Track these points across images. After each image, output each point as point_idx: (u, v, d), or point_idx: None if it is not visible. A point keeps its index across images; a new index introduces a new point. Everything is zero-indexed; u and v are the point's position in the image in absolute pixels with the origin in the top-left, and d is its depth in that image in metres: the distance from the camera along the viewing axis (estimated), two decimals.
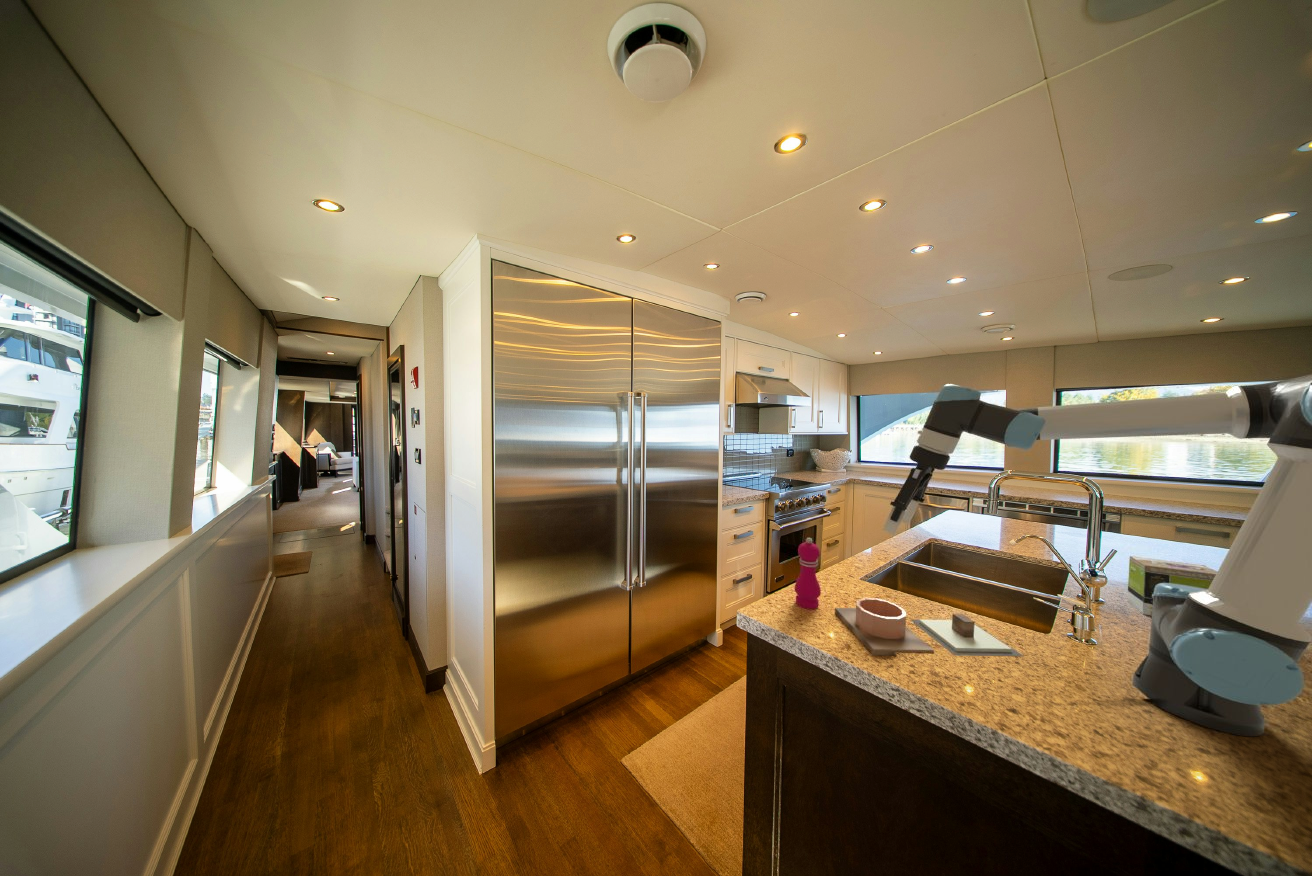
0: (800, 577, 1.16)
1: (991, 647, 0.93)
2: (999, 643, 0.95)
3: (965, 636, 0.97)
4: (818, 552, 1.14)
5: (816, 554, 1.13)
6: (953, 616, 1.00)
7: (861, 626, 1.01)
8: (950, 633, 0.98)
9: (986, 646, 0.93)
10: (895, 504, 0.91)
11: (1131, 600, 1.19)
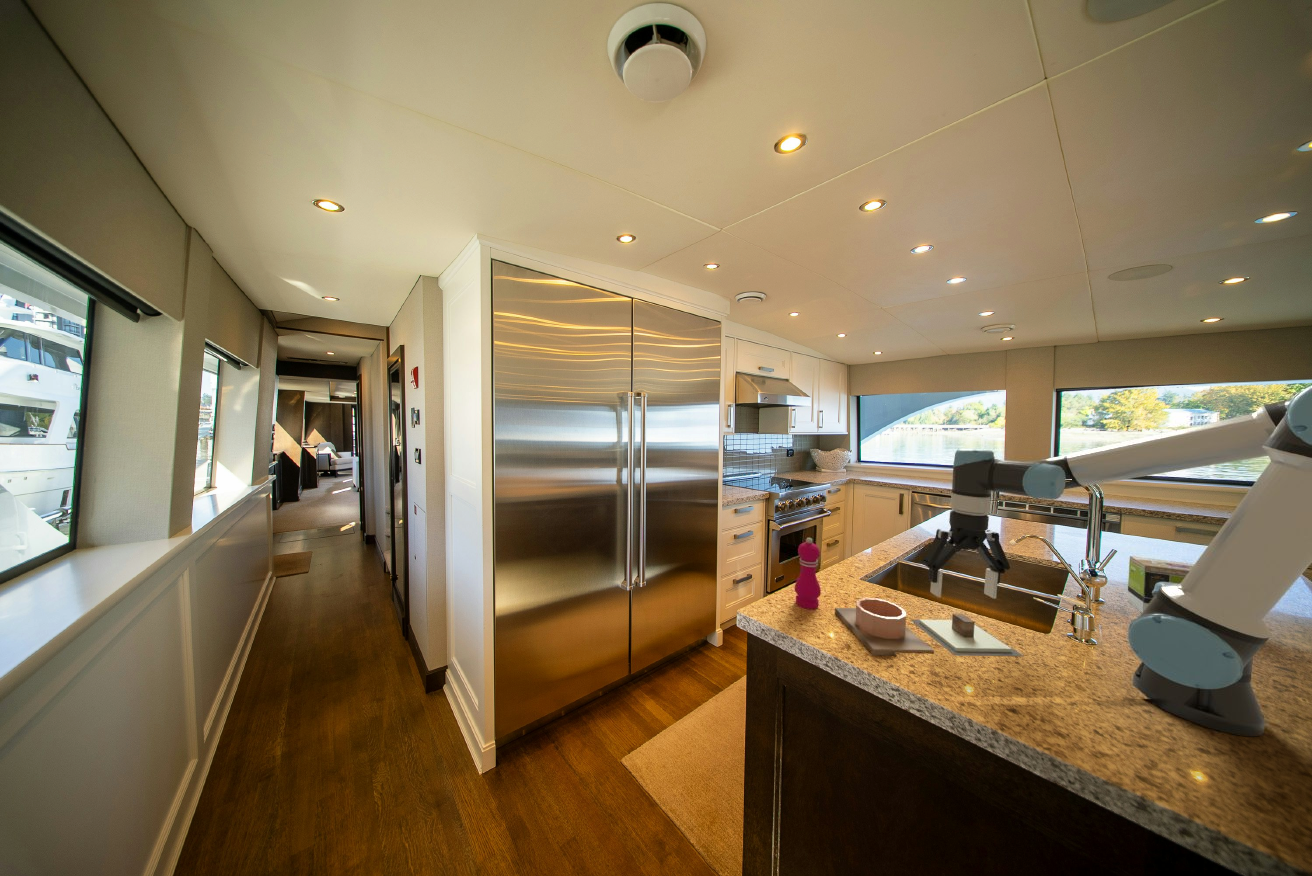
0: (800, 577, 1.16)
1: (991, 647, 0.93)
2: (999, 643, 0.95)
3: (965, 636, 0.97)
4: (818, 552, 1.14)
5: (816, 554, 1.13)
6: (953, 616, 1.00)
7: (861, 626, 1.01)
8: (950, 633, 0.98)
9: (986, 646, 0.93)
10: (923, 563, 0.99)
11: (1131, 600, 1.19)
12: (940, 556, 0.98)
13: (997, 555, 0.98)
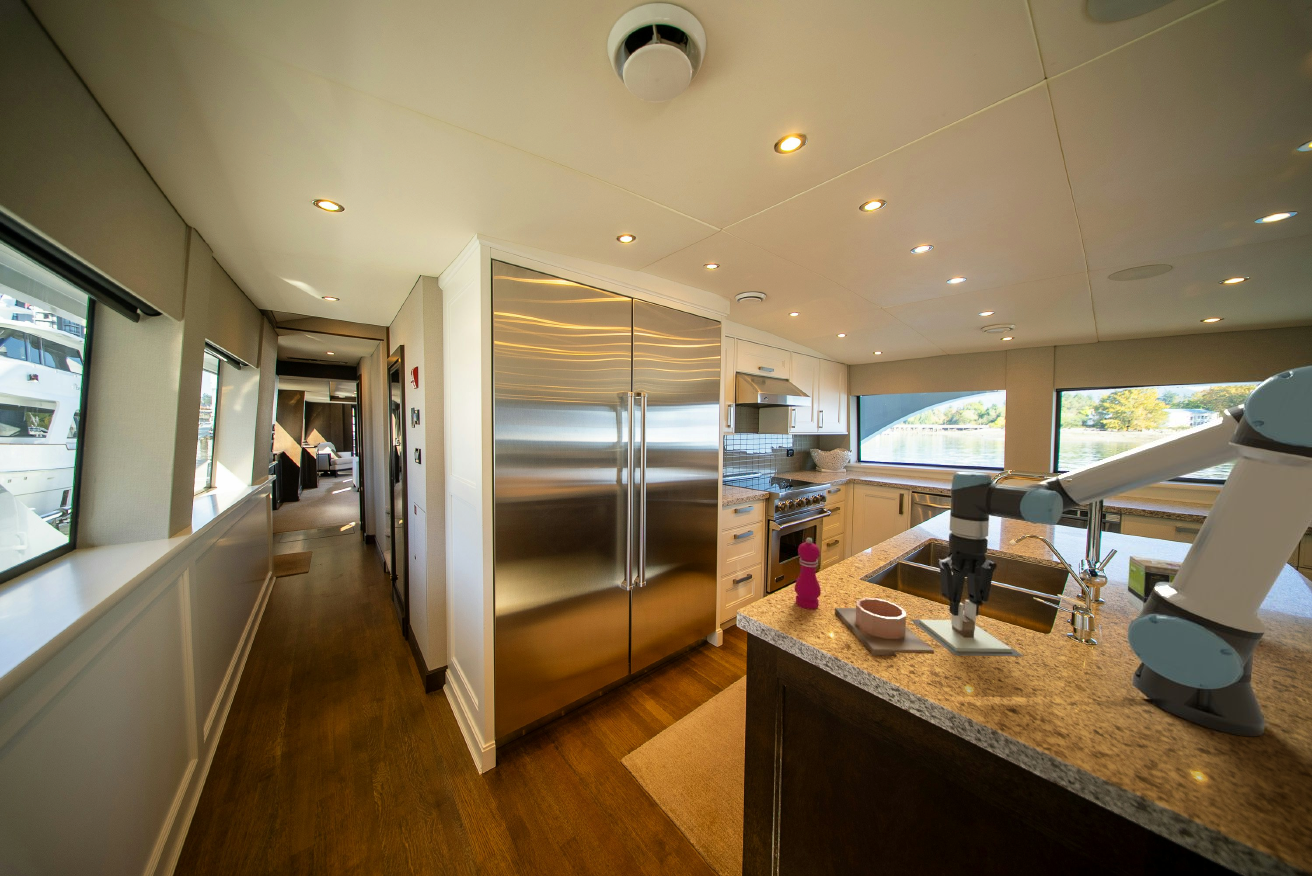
0: (800, 577, 1.16)
1: (991, 647, 0.93)
2: (999, 643, 0.94)
3: (965, 636, 0.97)
4: (818, 552, 1.14)
5: (816, 554, 1.13)
6: None
7: (861, 626, 1.01)
8: (950, 633, 0.98)
9: (986, 646, 0.93)
10: (944, 596, 0.99)
11: (1131, 600, 1.19)
12: (954, 587, 0.98)
13: (982, 585, 0.98)
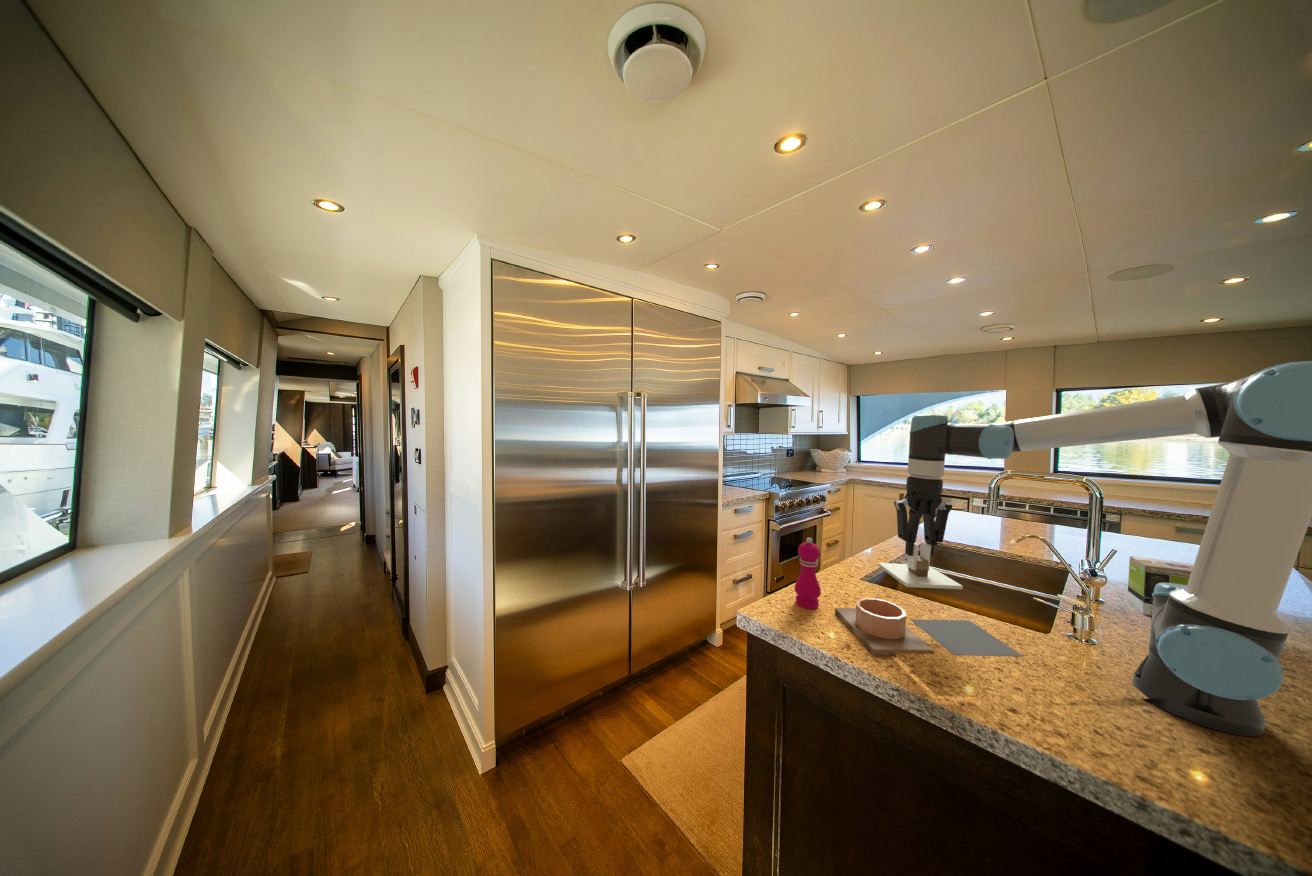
0: (800, 577, 1.16)
1: (942, 584, 0.94)
2: (951, 581, 0.96)
3: (919, 575, 0.99)
4: (818, 552, 1.14)
5: (816, 554, 1.13)
6: None
7: (861, 626, 1.01)
8: (905, 573, 1.00)
9: (937, 583, 0.95)
10: (900, 537, 1.01)
11: (1131, 600, 1.19)
12: (910, 528, 1.00)
13: (938, 526, 0.99)
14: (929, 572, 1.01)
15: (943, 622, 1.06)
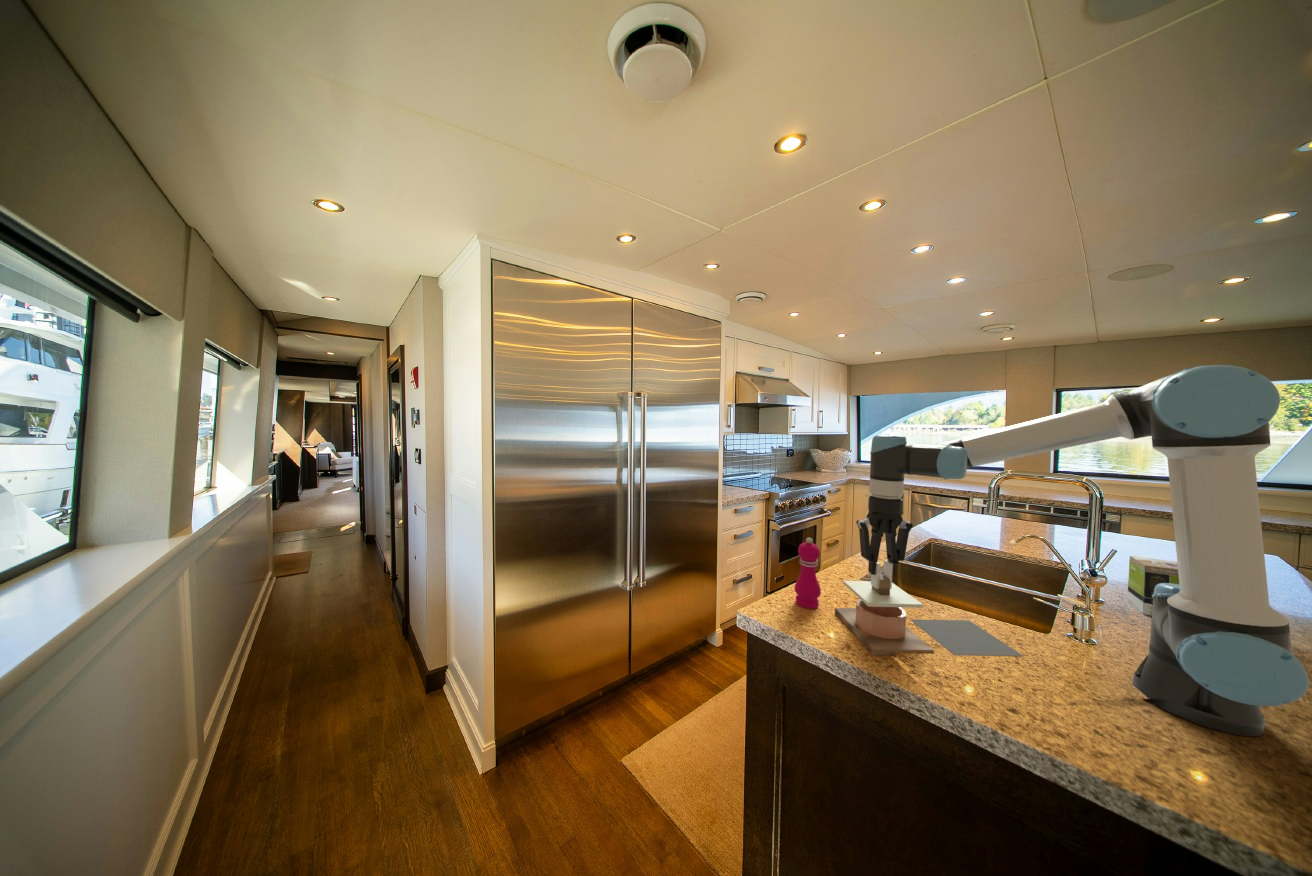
0: (800, 577, 1.16)
1: (902, 603, 0.95)
2: (912, 600, 0.97)
3: (881, 594, 1.00)
4: (818, 552, 1.14)
5: (816, 554, 1.13)
6: None
7: (861, 626, 1.01)
8: (868, 592, 1.01)
9: (898, 602, 0.96)
10: (863, 556, 1.02)
11: (1131, 600, 1.19)
12: (872, 547, 1.01)
13: (899, 545, 1.00)
14: (892, 590, 1.03)
15: (943, 622, 1.06)
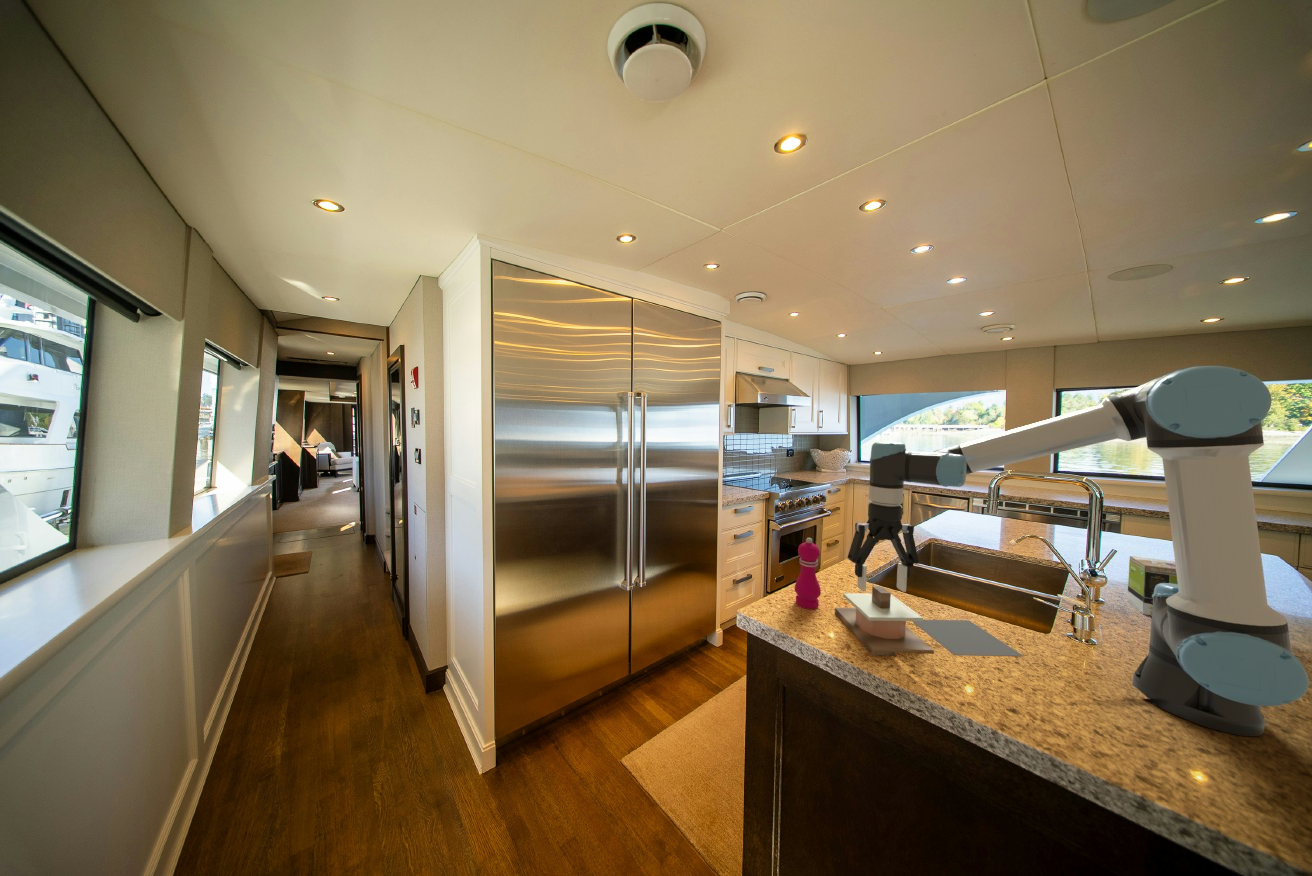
0: (800, 577, 1.16)
1: (903, 617, 0.95)
2: (913, 613, 0.97)
3: (882, 607, 1.00)
4: (818, 552, 1.14)
5: (816, 554, 1.13)
6: (873, 589, 1.03)
7: (861, 626, 1.01)
8: (868, 605, 1.01)
9: (899, 616, 0.96)
10: (849, 558, 1.02)
11: (1131, 600, 1.19)
12: (863, 550, 1.01)
13: (909, 549, 1.00)
14: (892, 602, 1.03)
15: (943, 622, 1.06)
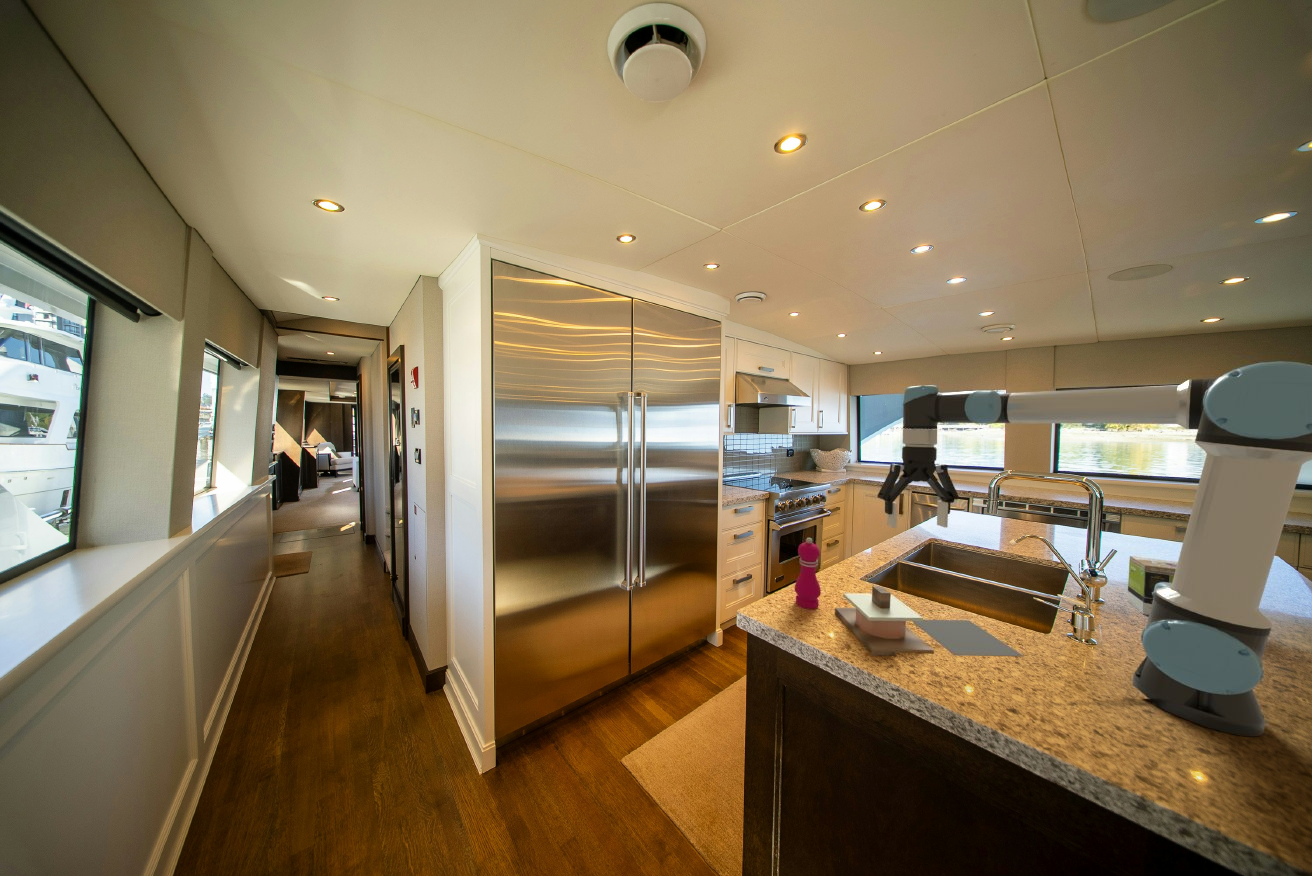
0: (800, 577, 1.16)
1: (903, 617, 0.95)
2: (913, 613, 0.97)
3: (882, 607, 1.00)
4: (818, 552, 1.14)
5: (816, 554, 1.13)
6: (873, 589, 1.03)
7: (861, 626, 1.01)
8: (868, 605, 1.01)
9: (899, 616, 0.96)
10: (879, 497, 1.04)
11: (1131, 600, 1.19)
12: (894, 489, 1.03)
13: (947, 487, 1.04)
14: (892, 602, 1.03)
15: (943, 622, 1.06)
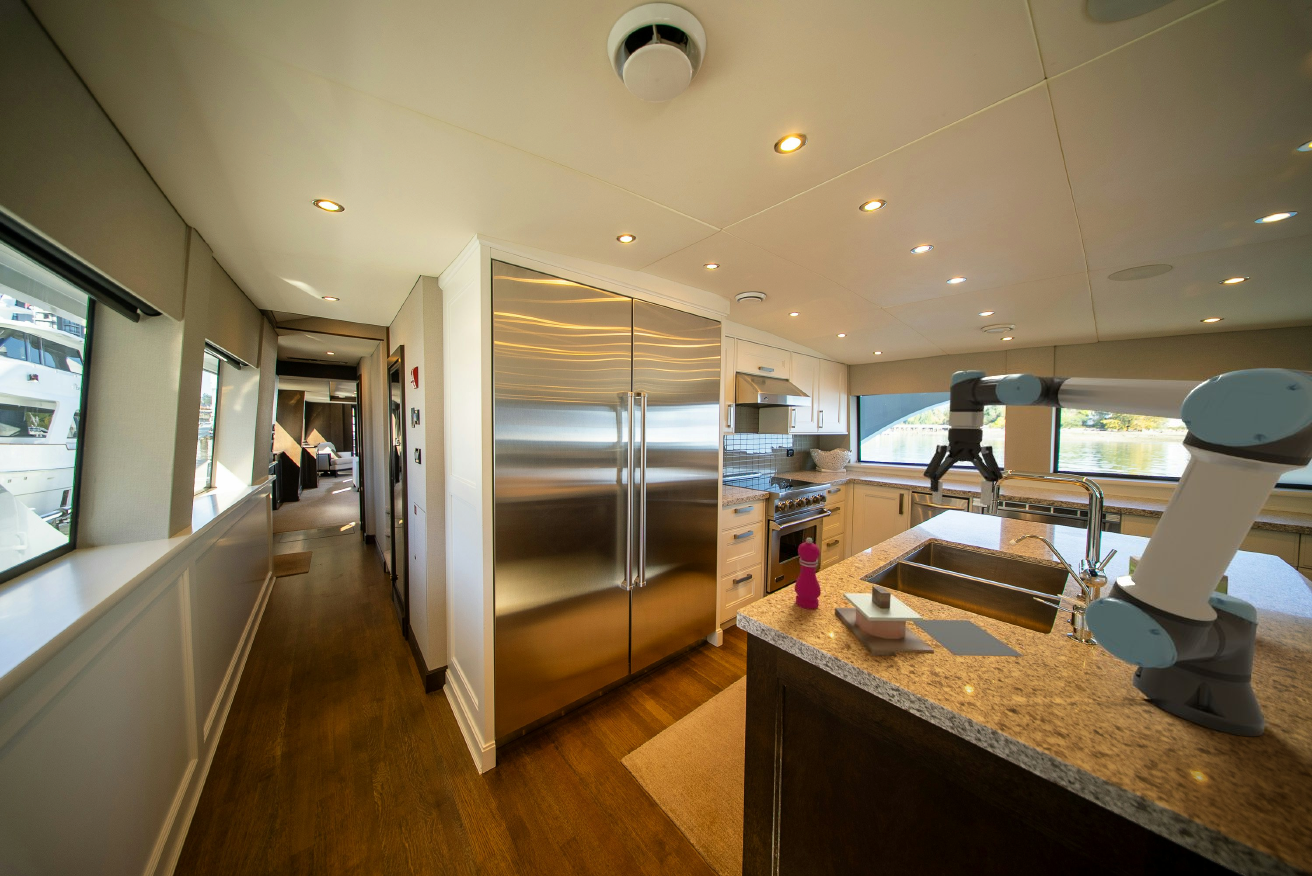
0: (800, 577, 1.16)
1: (903, 617, 0.95)
2: (913, 613, 0.97)
3: (882, 607, 1.00)
4: (818, 552, 1.14)
5: (816, 554, 1.13)
6: (873, 589, 1.03)
7: (861, 626, 1.01)
8: (868, 605, 1.01)
9: (899, 616, 0.96)
10: (925, 476, 1.11)
11: None
12: (940, 468, 1.10)
13: (991, 467, 1.09)
14: (892, 602, 1.03)
15: (943, 622, 1.06)
